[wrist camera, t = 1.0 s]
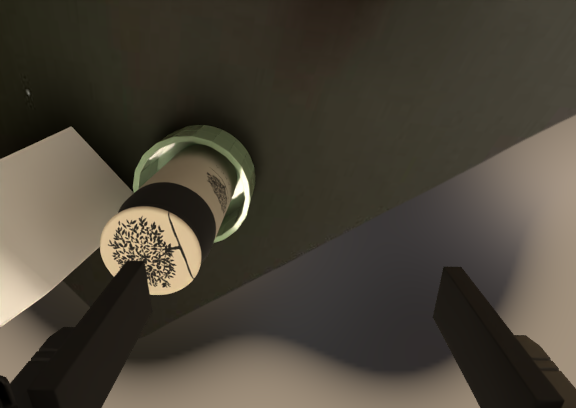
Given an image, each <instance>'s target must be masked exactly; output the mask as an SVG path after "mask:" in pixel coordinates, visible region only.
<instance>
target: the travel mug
mask: <svg viewBox="0 0 576 408" xmlns="http://www.w3.org/2000/svg"><path fill="white" fill-rule="evenodd" d="M236 185H237V175H236V171H235V168H234V165H233V164H232V163H231V162H230V161H229V160H228V159H227V157H226V156H224V155H223V154H221V153H219V152H218V151H216V150H215V149H213V148H211V147H210V146H206V145H193V146H189V147H187V148H185V149H183V150H181V151H180V152H179V153H178V154H177V155H176V156H174V157H173V158H172V159H171V160H170V161H169V162H168V163H167V164H166V165H164V166H163V167H162V168H161V169H160V170H159V171H158V172H157V173H156V174H154V175H153V176H152V177H151V178H150V179H149V180H148V181H147V182H146V183H145V184H143V185H142V186H141V187H140V188H139V189H138V190H137V191H136V192H135V193H133V194H132V195H131V196H130V197H129V198H128V199H127V200H126V201H125V202H124V203H123V204H122V206H121V207H120V209H119V211H118V213H117V214H116V215H115V216H113V217H112V218H111V219H110V220H109V221H108V222H107V224H106V225H105V227H104V229H103V231H102V234H101V238H100V251H101V256H102V259H103V261H104V263H105V265H106V267H107V269H108V270H109V271H110V273H111V274H112V275H113V276H114V277H115V275H116V274H117V273H118V271H119V270H120V269H121V268H122V266H123V265H124V264H125V262H126V261H127V260H129V261H145V267H146V274H147V280H148V286H149V293H150V294H152V295H164V294H170V293H173V292H176V291H179V290H181V289H182V288H184V287H186V286H187V285H188V284H189V283H190V282H191V281H192V280H193V279H194V278H195V276H196V275H197V273H198V271H199V268H200V265H201V263H202V262H203V261H204V260H205V259H206V258H207V256H208V254H209V252H210V250H211V248H212V245H213V243H214V240H215V238H216V235H217V233H218V230H219V228H220V226H221V223H222V221H223V218H224V216H225V213H226V211H227V209H228V206H229V204H230V201H231V199H232V196H233V194H234V191H235V189H236Z"/></svg>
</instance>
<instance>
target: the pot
mask: <svg viewBox="0 0 576 408" xmlns="http://www.w3.org/2000/svg"><path fill="white" fill-rule="evenodd" d="M193 145H206V146H210V147H211V148H213V149H215V150H216V151H218V152H219V153H221V154H223V155H224V156H226V157H227V159H228V160H229V161H230V162H231V163H232V164H233V165H234V168H235V171H236V175H237V185H236V189H235V191H234V194H233V196H232V199H231V201H230V204H229V206H228V209H227V211H226V213H225V216H224V218H223V221H222V223H221V226H220V228H219V230H218V233H217V235H216V238H215V240H214V243H215V242H218V241H221V240H224V239H226V238H227V237H228V236H230V235H231V234H232V233H234V232H235V231H236V230H237V229H238V228H239V227H240V225H241V224H242V222H243V221H244V219H245V218H246V216H247V213H248V209H249V206H250V202H251V199H252V195H253V191H254V187H255V169H254V165H253V162H252V159H251V157H250V155H249V153H248V152H247V150H246V149H245V147H244V146H243V145H242V144H241V143H240V142H239V141H238V140H237V139H236V138H235V137H234V136H232V135H231V134H229V133H227V132H226V131H224V130H221V129H219V128H216V127H213V126H207V125H192V126H187V127H184V128H181V129H179V130H176V131H174V132H172V133H171V134H169V135H168V136H166V137H165V138H163V139H162V140H160V141H159V142H157V143H156V144H155V145H154V146H153V147H151V148H150V149H149V150H148V151H147V152H146V153H145V154H144V155H143V156H142V158H141V160H140V161H139V163H138V165H137V167H136V169H135V173H134V181H133V191H134V193H135V192H136V191H137V190H138V189H139V188H140V187H141V186H142V185H143V184H145V183H146V182H147V181H148V180H149V179H150V178H151V177H152V176H153V175H154V174H156V173H157V172H158V171H159V170H160V169H161V168H162V167H163V166H164V165H166V164H167V163H168V162H169V161H170V160H171V159H172V158H173V157H174V156H176V155H177V154H178V153H179V152H180V151H181V150H183V149H185V148H187V147H189V146H193Z"/></svg>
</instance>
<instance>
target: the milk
mask: <svg viewBox="0 0 576 408" xmlns="http://www.w3.org/2000/svg"><path fill="white" fill-rule="evenodd" d="M132 194H133V192H132V191H131V190H130V188H129V187H128V186H127V185H126V184H125V183H124V182H123V181H122V180H121V179H120V178H119V177H118V176H117V175H116V173H115V172H114V171H113V170H112V169H111V168H110V167H109V166H108V165H107V164H106V163H105V162H104V161H103V160H102V158H101V157H100V156H99V155H98V154H97V153H96V152H95V151H94V150H93V149H92V148H91V147H90V146H89V145H88V143H87V142H86V141H85V140H84V139H83V138H82V137H81V136H80V135H79V134H78V133H77V132H76V131H75V130H74V128H73V127H72V126H71V127H69V128H67V129H65V130H63V131H60V132H58V133H56V134H54V135H52V136H50V137H47V138H45V139H43V140H41V141H39V142H37V143H34V144H32V145H30V146H28V147H26V148H24V149H21V150H19V151H17V152H15V153H13V154H11V155H8V156H6V157H4V158H2V159H0V327H2V326H3V325H4V324H6V323H7V322H9V321H10V320H11V319H13V318H14V317H16V316H17V315H18V314H20V313H21V312H23V311H24V310H25V309H27V308H28V307H29V306H31V305H32V304H34V303H35V302H36V301H38V300H39V299H41V298H42V297H43V296H45V295H46V294H47V293H48V292H49V291H51V290H52V289H53V288H54V287H55V286H56V285H58V283H60V282H61V281H62V280H63V279H64V278H65V277H66V276H68V275H69V274H70V273H71V272H72V271H73V270H74V269H75V268H76V267H78V266H79V265H80V264H81V263H82V262H83V261H84V260H85V259H86V258H88V257H89V256H90V255H91V254H92V253H93V252H94V251H95V250H96V249H98V248H99V247H100V238H101V234H102V231H103V229H104V227H105V225H106V224H107V222H108V221H109V220H110V219H111V218H112V217H113V216H115V215H116V214H117V213H118V211H119V209H120V207H121V206H122V204H123V203H124V202H125V201H126V200H127V199H128V198H129V197H130V196H131V195H132Z"/></svg>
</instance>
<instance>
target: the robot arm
mask: <svg viewBox="0 0 576 408" xmlns="http://www.w3.org/2000/svg"><path fill="white" fill-rule="evenodd" d="M151 313H152V305H151V299H150V293H149V286H148V280H147V274H146V267H145V261H129V260H127V261H126V262H125V264H124V265H123V266H122V268H121V269H120V270H119V271H118V273H117V274H116V275H115V277H114V278H113V279H112V280H111V282H110V283H109V284H108V286H107V287H106V288H105V289H104V291H103V292H102V293H101V295H100V296H99V297H98V298H97V300H96V301H95V302H94V304H93V305H92V306H91V307H90V309H89V310H88V311H87V313H86V314H85V315H84V316H83V318H82V319H81V320H80V322H79V323H78V324H77V325H76V327H63V328H61V329H60V330H59V331H57V332H56V333H54V334H53V335H52V336H50V337H49V338H48V339H47V340H46V342H45V343H44V344H43V345H42V346H41V348H40V349H39V351H37V352H36V353H35V355H34V356H33V357H32V358H31V361H29V362H28V363H27V364H26V365H25V366H24V368H23V369H22V370H21V371H20V372H19V374H18V375H17V376H16V377H15V378H14V380H13V381H12V382H11V383H9V381H8V380H7V378H6V377H3V376H0V408H101V407H102V405H103V403H104V402H105V400H106V398H107V396H108V394H109V392H110V391H111V389H112V387H113V385H114V383H115V381H116V379H117V377H118V375H119V373H120V372H121V370H122V368H123V366H124V364H125V362H126V360H127V358H128V357H129V355H130V353H131V351H132V349H133V347H134V345H135V343H136V342H137V340H138V338H139V336H140V334H141V332H142V330H143V328H144V326H145V325H146V323H147V321H148V319H149V317H150V315H151ZM433 318H434V320H435V322H436V324H437V326H438V328H439V329H440V331H441V333H442V335H443V337H444V339H445V341H446V343H447V345H448V347H449V348H450V350H451V352H452V354H453V356H454V358H455V360H456V362H457V364H458V366H459V368H460V369H461V371H462V373H463V375H464V377H465V379H466V381H467V383H468V384H469V386H470V388H471V390H472V392H473V394H474V396H475V398H476V400H477V402H478V404H479V406H480V408H576V389H575V387H574V386H573V385H572V384H571V383H570V381H569V380H568V379H567V378H566V377H565V376H564V374H563V373H562V372H561V371H559V368H558V367H557V366H556V365H555V363H554V362H553V361H551V360H550V357H548V355H547V354H546V353H545V352H544V350H543V349H542V348H541V347H540V346H539V345H538V344H537V343H535V342H534V341H532V340H531V339H530V338H528V337H527V336H524V335H513V333H512V332H511V331H510V329H509V328H508V327H507V326H506V324H505V323H504V322H503V320H502V319H501V318H500V317H499V315H498V314H497V313H496V311H495V310H494V309H493V307H492V306H491V305H490V304H489V302H488V301H487V300H486V298H485V297H484V296H483V295H482V293H481V292H480V291H479V289H478V288H477V287H476V286H475V284H474V283H473V282H472V281H471V279H470V278H469V276H468V275H467V274H466V273H465V271H464V270H463V269H462V267H444V268H443V272H442V277H441V282H440V287H439V291H438V296H437V301H436V305H435V310H434V315H433Z"/></svg>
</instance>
